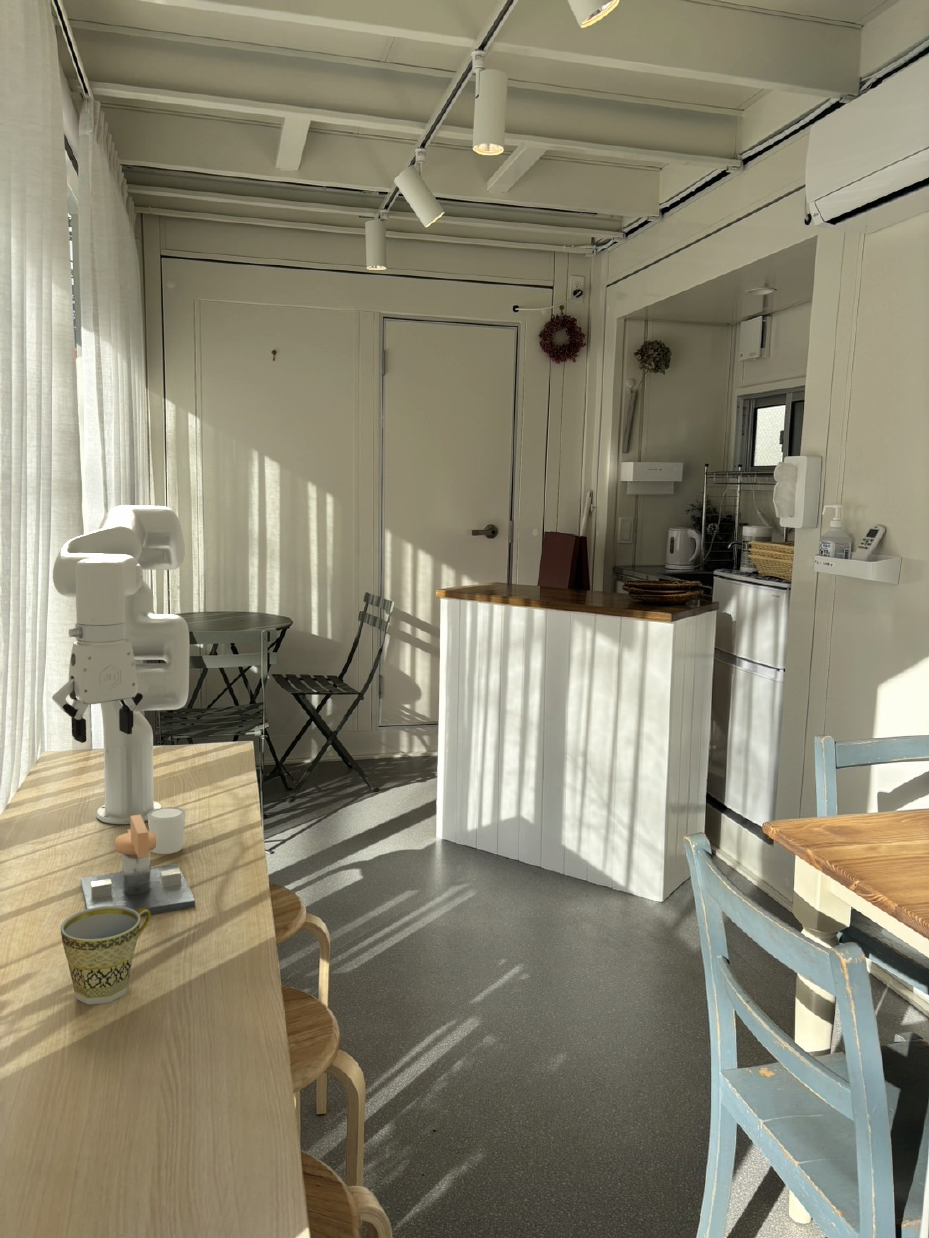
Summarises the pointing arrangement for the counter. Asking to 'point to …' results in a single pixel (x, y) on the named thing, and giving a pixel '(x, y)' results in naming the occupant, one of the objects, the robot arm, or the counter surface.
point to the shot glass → (167, 829)
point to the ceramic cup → (101, 950)
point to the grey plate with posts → (139, 887)
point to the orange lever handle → (136, 839)
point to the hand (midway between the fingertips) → (103, 735)
